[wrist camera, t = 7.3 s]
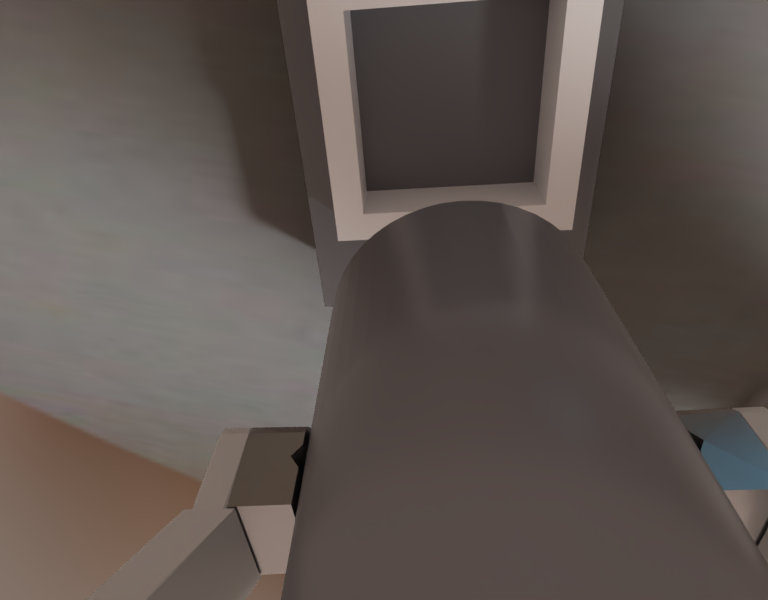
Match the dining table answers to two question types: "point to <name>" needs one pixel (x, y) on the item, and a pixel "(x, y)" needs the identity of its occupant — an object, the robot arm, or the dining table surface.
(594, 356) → the lens
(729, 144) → the dining table surface
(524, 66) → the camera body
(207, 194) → the dining table surface
